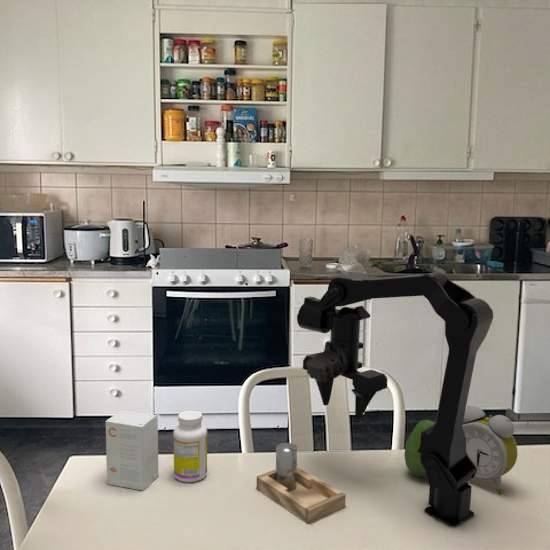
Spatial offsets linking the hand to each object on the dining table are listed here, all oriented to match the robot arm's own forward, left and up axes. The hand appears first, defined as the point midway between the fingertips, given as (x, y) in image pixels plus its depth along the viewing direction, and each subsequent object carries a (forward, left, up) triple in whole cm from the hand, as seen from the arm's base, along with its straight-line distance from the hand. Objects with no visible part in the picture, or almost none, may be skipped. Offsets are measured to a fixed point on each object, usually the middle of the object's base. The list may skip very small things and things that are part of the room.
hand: (341, 411), depth 123 cm
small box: (+21, +36, -13) cm, 44 cm away
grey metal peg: (0, +14, -12) cm, 18 cm away
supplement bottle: (+16, +26, -13) cm, 33 cm away
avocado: (-12, -12, -13) cm, 21 cm away
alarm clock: (-21, -20, -13) cm, 32 cm away
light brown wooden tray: (-4, +14, -12) cm, 19 cm away
